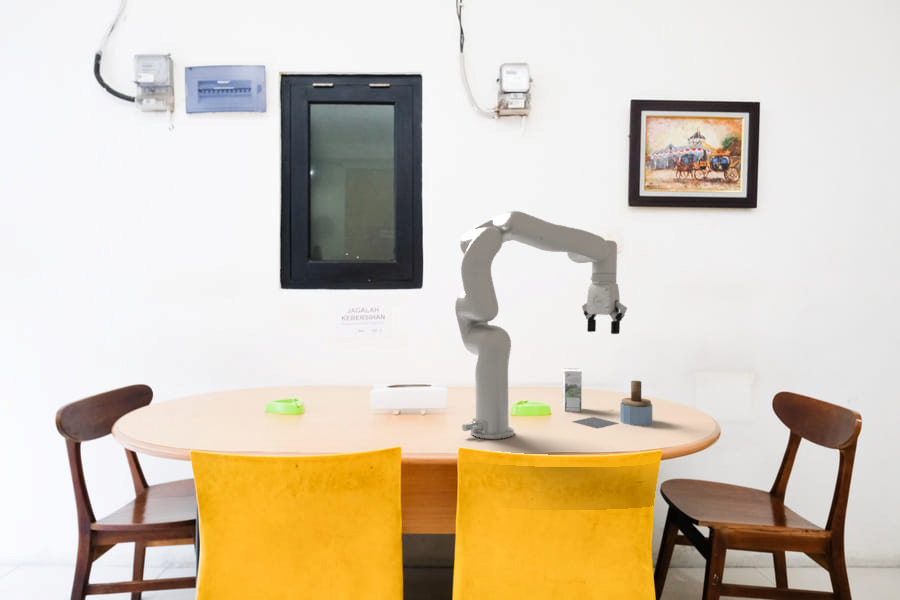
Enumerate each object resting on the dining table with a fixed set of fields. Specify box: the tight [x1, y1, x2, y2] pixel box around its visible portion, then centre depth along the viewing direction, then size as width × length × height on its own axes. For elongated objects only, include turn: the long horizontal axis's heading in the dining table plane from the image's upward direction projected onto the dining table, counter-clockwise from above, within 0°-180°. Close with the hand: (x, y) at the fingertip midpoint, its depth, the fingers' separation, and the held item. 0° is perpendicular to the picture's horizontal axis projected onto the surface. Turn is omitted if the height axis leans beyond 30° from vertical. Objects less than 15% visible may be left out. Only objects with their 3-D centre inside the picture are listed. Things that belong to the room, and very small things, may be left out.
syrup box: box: [562, 367, 583, 413], centre depth 182 cm, size 6×6×14 cm
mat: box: [571, 416, 619, 429], centre depth 165 cm, size 10×10×1 cm
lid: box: [621, 380, 652, 407], centre depth 165 cm, size 9×9×7 cm
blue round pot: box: [620, 401, 653, 427], centre depth 165 cm, size 9×9×6 cm
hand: (603, 332), depth 170 cm, fingers open, 9 cm apart
